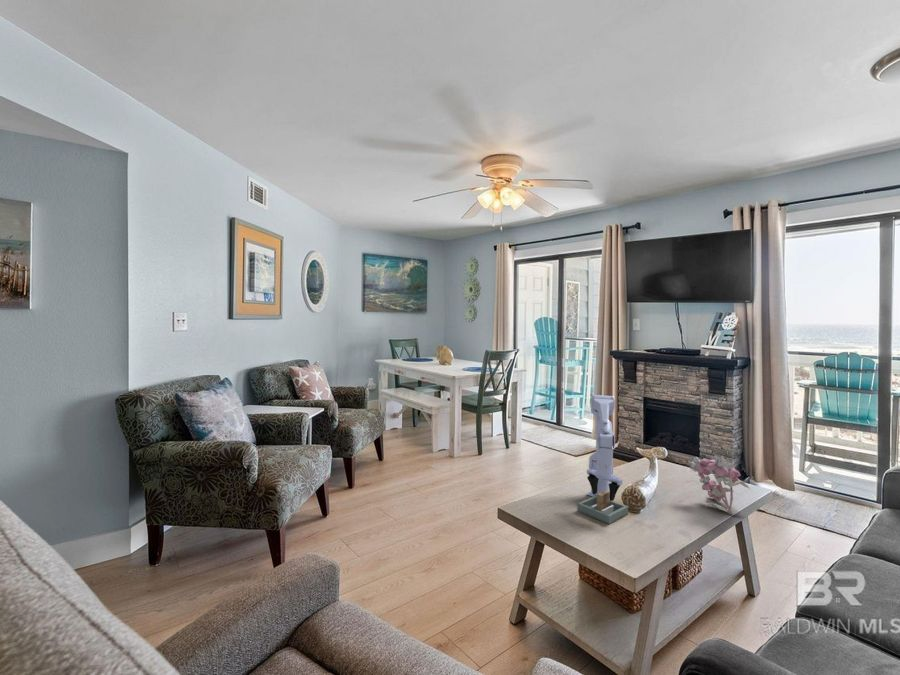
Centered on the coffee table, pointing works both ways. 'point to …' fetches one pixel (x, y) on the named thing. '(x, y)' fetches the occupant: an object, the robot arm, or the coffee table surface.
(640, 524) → the coffee table surface
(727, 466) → the flower
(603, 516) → the slotted divider tray
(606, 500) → the wood block
